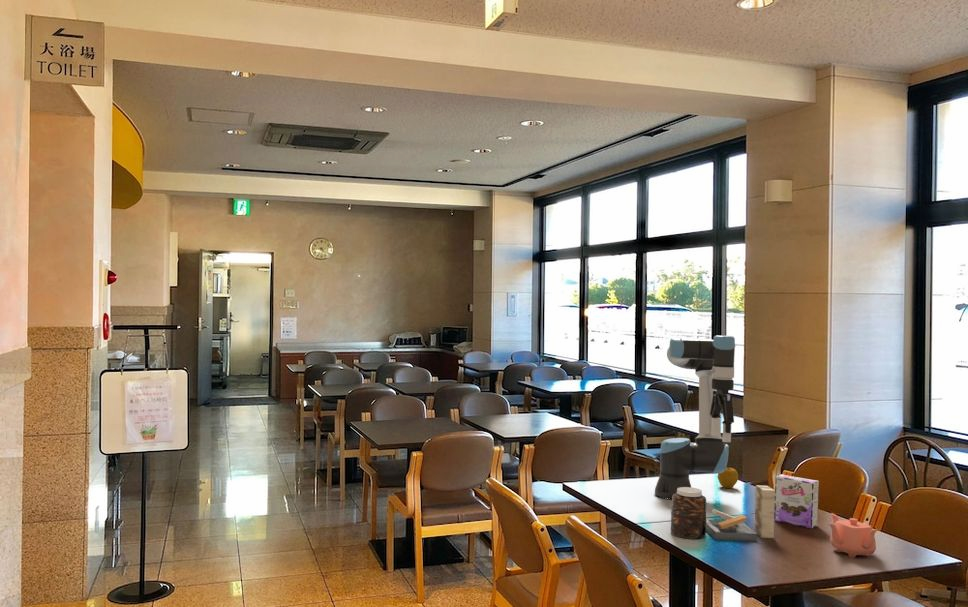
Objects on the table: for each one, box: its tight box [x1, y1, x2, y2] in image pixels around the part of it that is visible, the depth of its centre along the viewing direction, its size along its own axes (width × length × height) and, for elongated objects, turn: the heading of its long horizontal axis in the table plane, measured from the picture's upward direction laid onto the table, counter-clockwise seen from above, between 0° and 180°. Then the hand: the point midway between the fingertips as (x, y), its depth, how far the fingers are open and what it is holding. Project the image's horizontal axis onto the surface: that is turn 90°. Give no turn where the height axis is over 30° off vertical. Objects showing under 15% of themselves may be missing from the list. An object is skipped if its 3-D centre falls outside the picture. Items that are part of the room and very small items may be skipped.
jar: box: [670, 486, 707, 540], centre depth 260 cm, size 12×12×15 cm
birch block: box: [753, 484, 775, 539], centre depth 262 cm, size 7×4×16 cm, turn 0°
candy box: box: [774, 474, 820, 529], centre depth 279 cm, size 14×6×16 cm, turn 47°
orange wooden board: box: [718, 514, 748, 529], centre depth 259 cm, size 3×9×1 cm, turn 91°
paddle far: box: [711, 508, 735, 520], centre depth 266 cm, size 3×9×1 cm, turn 91°
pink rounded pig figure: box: [827, 512, 879, 558], centre depth 245 cm, size 14×14×11 cm
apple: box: [717, 467, 739, 489], centre depth 332 cm, size 8×8×9 cm
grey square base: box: [706, 518, 758, 542], centre depth 262 cm, size 15×14×4 cm
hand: (720, 438), depth 276 cm, fingers open, 12 cm apart
